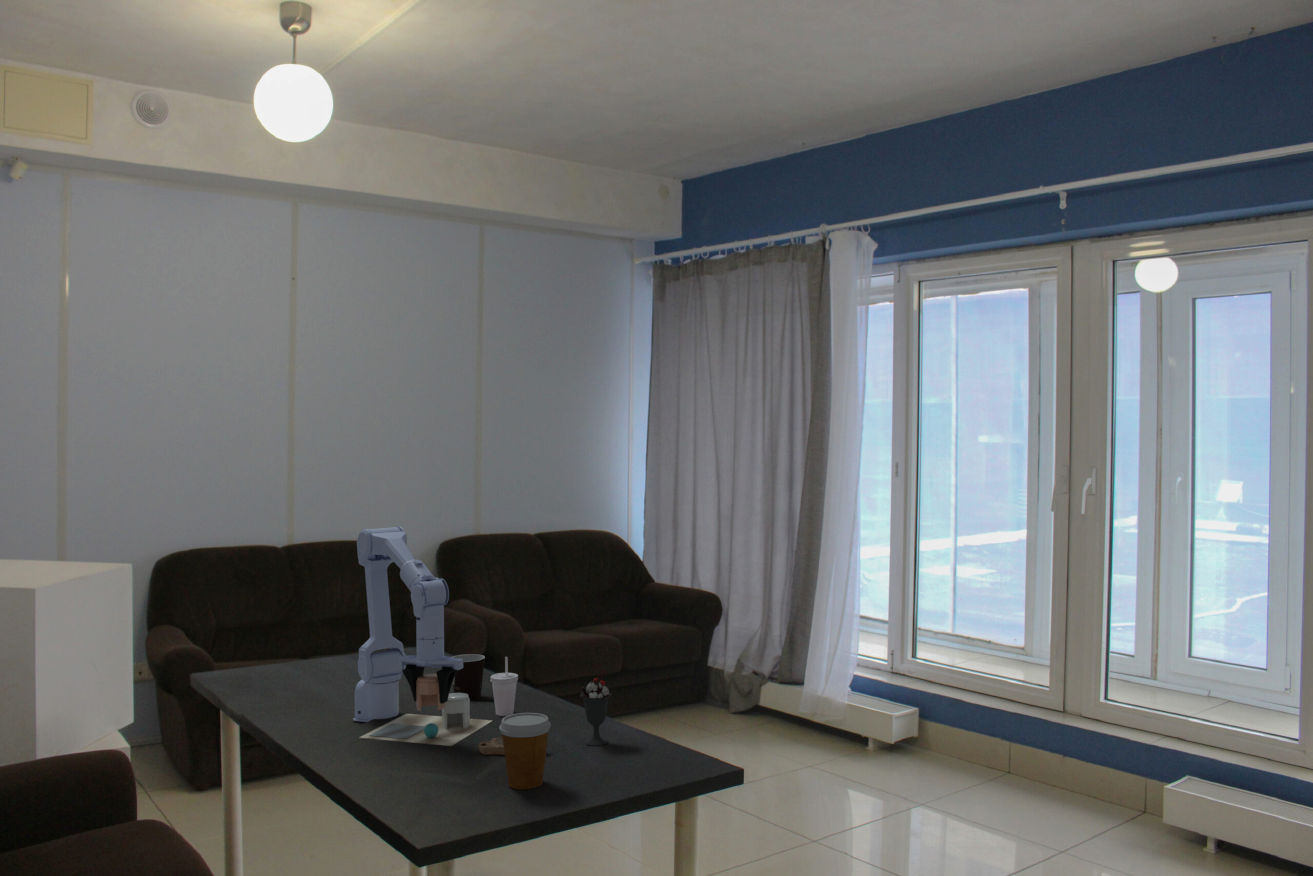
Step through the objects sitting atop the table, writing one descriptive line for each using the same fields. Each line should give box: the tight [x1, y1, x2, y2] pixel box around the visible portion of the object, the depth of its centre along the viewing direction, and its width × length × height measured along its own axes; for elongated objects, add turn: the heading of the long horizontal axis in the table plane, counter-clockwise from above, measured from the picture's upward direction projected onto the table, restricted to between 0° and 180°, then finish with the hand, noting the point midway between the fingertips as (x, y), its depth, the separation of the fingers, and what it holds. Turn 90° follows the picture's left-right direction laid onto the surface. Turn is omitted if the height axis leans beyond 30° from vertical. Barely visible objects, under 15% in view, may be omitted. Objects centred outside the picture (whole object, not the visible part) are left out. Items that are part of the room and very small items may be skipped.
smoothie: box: [490, 656, 519, 717], centre depth 226 cm, size 6×6×14 cm
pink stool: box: [415, 673, 445, 712], centre depth 208 cm, size 6×6×7 cm
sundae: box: [579, 669, 612, 747], centre depth 207 cm, size 7×7×15 cm
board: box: [358, 713, 493, 747], centre depth 214 cm, size 22×19×1 cm
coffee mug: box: [452, 653, 486, 702], centre depth 245 cm, size 12×9×10 cm
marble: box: [424, 723, 438, 738], centre depth 208 cm, size 3×3×3 cm
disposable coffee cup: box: [498, 712, 552, 790], centre depth 182 cm, size 10×10×12 cm
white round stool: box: [441, 692, 471, 729], centre depth 216 cm, size 6×6×7 cm
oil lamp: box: [478, 735, 505, 756], centre depth 199 cm, size 13×8×5 cm, turn 105°
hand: (430, 701), depth 208 cm, fingers closed on pink stool, 6 cm apart
